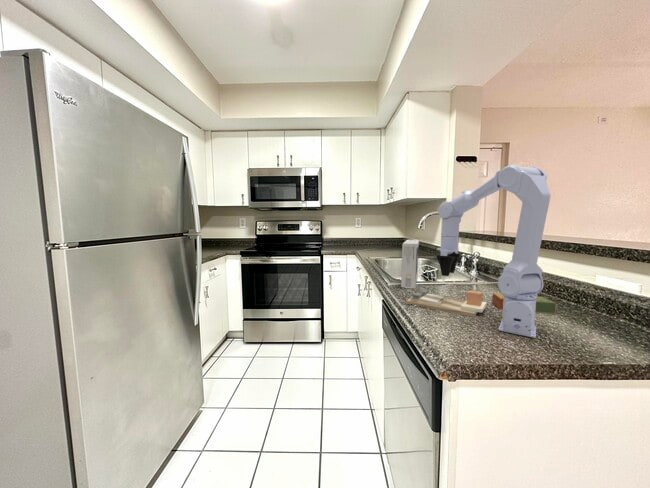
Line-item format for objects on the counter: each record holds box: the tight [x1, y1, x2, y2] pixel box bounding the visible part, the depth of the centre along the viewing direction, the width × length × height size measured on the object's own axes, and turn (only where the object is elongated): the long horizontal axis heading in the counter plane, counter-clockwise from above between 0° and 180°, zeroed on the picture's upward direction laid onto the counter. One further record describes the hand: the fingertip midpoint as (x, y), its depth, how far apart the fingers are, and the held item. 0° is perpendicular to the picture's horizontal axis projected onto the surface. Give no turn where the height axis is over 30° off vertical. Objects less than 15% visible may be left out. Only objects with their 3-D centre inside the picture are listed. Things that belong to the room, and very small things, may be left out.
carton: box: [491, 292, 557, 315], centre depth 94 cm, size 8×16×4 cm, turn 74°
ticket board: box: [404, 289, 479, 318], centre depth 97 cm, size 14×22×3 cm, turn 52°
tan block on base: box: [461, 290, 488, 313], centre depth 91 cm, size 10×6×5 cm, turn 142°
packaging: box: [400, 239, 420, 289], centre depth 134 cm, size 30×6×20 cm, turn 160°
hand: (448, 274), depth 99 cm, fingers open, 7 cm apart
